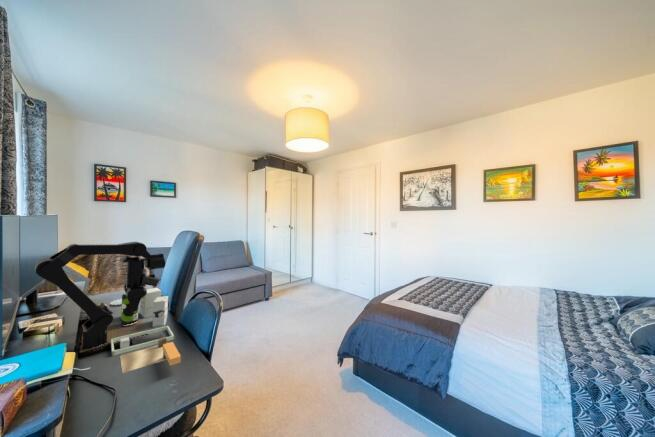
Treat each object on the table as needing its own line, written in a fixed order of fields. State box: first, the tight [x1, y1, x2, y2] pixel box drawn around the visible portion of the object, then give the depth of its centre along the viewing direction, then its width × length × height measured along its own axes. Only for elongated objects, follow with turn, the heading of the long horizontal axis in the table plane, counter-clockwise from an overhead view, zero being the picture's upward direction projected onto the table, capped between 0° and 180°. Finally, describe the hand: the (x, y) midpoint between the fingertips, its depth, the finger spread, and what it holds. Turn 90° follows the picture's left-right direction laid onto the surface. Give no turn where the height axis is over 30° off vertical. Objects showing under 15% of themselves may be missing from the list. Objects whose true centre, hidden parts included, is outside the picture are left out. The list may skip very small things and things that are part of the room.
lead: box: [119, 331, 164, 349], centre depth 98 cm, size 14×3×3 cm, turn 133°
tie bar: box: [163, 341, 182, 366], centre depth 83 cm, size 3×12×2 cm, turn 43°
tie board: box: [119, 337, 172, 374], centre depth 88 cm, size 16×13×4 cm
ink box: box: [152, 295, 169, 328], centre depth 117 cm, size 8×5×12 cm, turn 25°
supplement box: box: [139, 287, 162, 319], centre depth 126 cm, size 7×7×13 cm
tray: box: [110, 325, 175, 357], centre depth 98 cm, size 19×12×2 cm, turn 133°
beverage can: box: [120, 291, 139, 326], centre depth 114 cm, size 6×6×15 cm
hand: (133, 307), depth 104 cm, fingers open, 9 cm apart
